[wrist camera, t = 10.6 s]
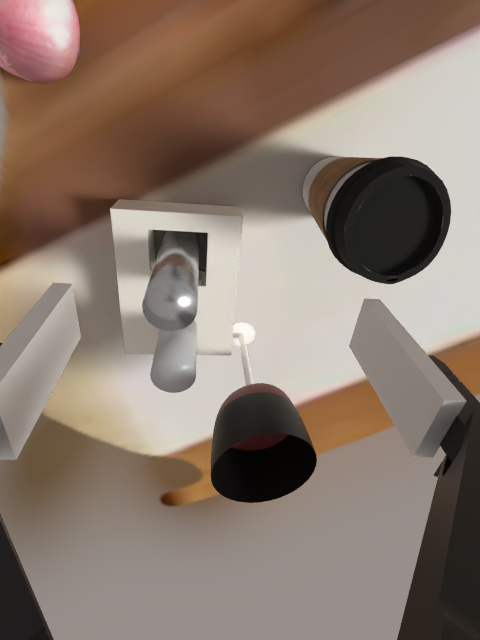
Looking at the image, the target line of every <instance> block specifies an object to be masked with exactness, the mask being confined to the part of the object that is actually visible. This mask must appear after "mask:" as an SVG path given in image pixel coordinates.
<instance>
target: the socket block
mask: <svg viewBox="0 0 480 640" xmlns="http://www.w3.org/2000/svg"><path fill="white" fill-rule="evenodd" d="M110 212H111V222H112V232H113V242H114V252H115V262H116V272H117V282H118V292H119V302H120V312H121V322H122V332H123V342H124V352H125V354H154V359H153V364H152V369H151V380H152V382H153V383H154V385H155V386H156V387H158V388H159V389H161V390H163V391H166V392H172V393H175V392H181V391H184V390H186V389H188V388H189V387H191V385H192V384H193V383H194V381H195V377H196V355H231V350H232V339H233V327H234V316H235V304H236V293H237V281H238V269H239V258H240V246H241V235H242V223H243V215H242V213H241V210H240V207H235V206H220V205H204V204H189V203H174V202H158V201H143V200H127V199H119V200H118V201H117V202H116V203H115V204H114V205H113V206H112V207H111V208H110ZM153 230H167V231H185V232H203V233H207V253H206V271H199V272H198V304H197V314H196V317H195V319H194V321H193V322H192V323H191V324H190V325H189V326H187V327H186V328H184V329H181V330H178V331H164V330H161V329H158V328H156V327H154V326H153V325H152V324H150V323H149V322H148V320H147V319H146V318H145V316H144V314H143V310H142V303H143V299H144V296H145V293H146V290H147V286H148V283H149V280H150V277H151V274H152V271H153V268H154V264H155V256H154V231H153Z"/></svg>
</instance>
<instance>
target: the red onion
mask: <svg viewBox="0 0 480 640" xmlns="http://www.w3.org/2000/svg"><path fill="white" fill-rule="evenodd" d="M80 53H81V52H80V26H79V19H78V15H77V11H76V8H75V5H74V0H0V67H1V68H3V69H4V70H6V71H7V72H9V73H11V74H13V75H15V76H18V77H20V78H22V79H24V80H27V81H29V82H33V83H40V84H45V83H52V82H57V81H59V80H61V79H63V78H64V77H66V76H67V75H68V74H69V73H70V71H71V70H72V68H73V67H74V65H75V63H76V59H77V56H78V55H79V54H80Z"/></svg>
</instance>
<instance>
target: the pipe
mask: <svg viewBox="0 0 480 640" xmlns="http://www.w3.org/2000/svg"><path fill="white" fill-rule="evenodd" d="M198 272H199V241H198V239H197V237H196V235H195V234H194V233H193V232H185V231H168V232H167V233H166V234H165V235H164V237H163V239H162V242H161V246H160V249H159V252H158V255H157V258H156V261H155V264H154V268H153V271H152V274H151V277H150V280H149V283H148V286H147V290H146V293H145V296H144V299H143V303H142V310H143V314H144V316H145V318H146V319H147V320H148V322H149V323H150V324H152V325H153V326H154V327H156V328H158V329H161V330H164V331H178V330H181V329H184V328H186V327H187V326H189V325H190V324H191V323H192V322H193V321H194V319H195V317H196V314H197V304H198Z"/></svg>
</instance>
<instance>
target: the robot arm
mask: <svg viewBox="0 0 480 640" xmlns="http://www.w3.org/2000/svg"><path fill="white" fill-rule="evenodd" d="M80 338H81V333H80V328H79V322H78V316H77V310H76V304H75V298H74V292H73V286H72V284H64V283H53V284H52V285H51V286H50V287H49V289H48V290H47V291H46V292H45V293H44V295H43V296H42V297H41V298H40V299H39V301H38V302H37V303H36V304H35V305H34V307H33V308H32V309H31V310H30V311H29V313H28V314H27V315H26V316H25V317H24V319H23V320H22V321H21V322H20V323H19V325H18V326H17V327H16V328H15V329H14V331H13V332H12V333H11V334H10V335H9V337H8V338H7V339H6V340H5V341H4V343H0V460H16V459H17V457H18V455H19V454H20V452H21V450H22V448H23V446H24V444H25V442H26V440H27V438H28V437H29V435H30V433H31V431H32V429H33V427H34V425H35V423H36V421H37V419H38V418H39V416H40V414H41V412H42V410H43V408H44V406H45V404H46V402H47V401H48V399H49V397H50V395H51V393H52V391H53V389H54V387H55V385H56V384H57V382H58V380H59V378H60V376H61V374H62V372H63V370H64V368H65V366H66V365H67V363H68V361H69V359H70V357H71V355H72V353H73V351H74V349H75V348H76V346H77V344H78V342H79V340H80ZM349 347H350V348H351V350H352V352H353V354H354V355H355V357H356V359H357V361H358V362H359V364H360V366H361V367H362V369H363V371H364V373H365V374H366V376H367V378H368V380H369V381H370V383H371V385H372V387H373V388H374V390H375V392H376V394H377V395H378V397H379V399H380V401H381V402H382V404H383V406H384V408H385V409H386V411H387V413H388V415H389V416H390V418H391V420H392V422H393V423H394V425H395V427H396V429H397V430H398V432H399V434H400V436H401V437H402V439H403V441H404V442H405V444H406V446H407V448H408V449H409V451H410V453H411V455H412V456H413V457H434V455H435V453H436V451H437V450H438V448H439V447H440V446H441V447H442V449H443V450H444V452H445V453H446V456H445V458H444V460H443V461H442V463H441V464H440V466H439V468H438V469H437V471H436V472H435V474H434V476H436V477H437V476H438V475H439V476H438V480H437V484H436V488H435V492H434V496H433V500H432V504H431V508H430V512H429V516H428V520H427V524H426V528H425V532H424V535H423V539H422V544H421V548H420V552H419V555H418V559H417V563H416V567H415V571H414V575H413V579H412V583H411V587H410V591H409V595H408V599H407V603H406V607H405V611H404V615H403V619H402V623H401V627H400V631H399V634H398V638H397V640H480V403H479V401H478V400H477V399H476V398H475V397H474V396H473V395H472V394H471V392H470V391H469V390H468V389H467V388H466V387H465V386H464V385H463V384H462V382H459V379H458V378H457V377H456V376H455V375H453V372H452V371H451V370H450V369H449V368H448V367H447V366H446V365H445V364H444V363H443V362H442V361H440V360H439V359H437V358H436V357H434V356H430V355H427V354H426V353H425V352H424V350H423V349H422V348H421V347H420V346H419V345H418V343H417V342H416V341H415V340H414V339H413V338H412V337H411V335H410V334H409V333H408V332H407V331H406V330H405V328H404V327H403V326H402V325H401V324H400V323H399V321H398V320H397V319H396V318H395V317H394V316H393V314H392V313H391V312H390V311H389V310H388V309H387V307H386V306H385V305H384V304H383V303H382V302H381V300H380V299H364V301H363V304H362V307H361V311H360V314H359V317H358V320H357V323H356V326H355V329H354V332H353V335H352V339H351V342H350V345H349ZM0 640H53V637H52V635H51V632H50V630H49V628H48V625H47V623H46V621H45V618H44V616H43V614H42V611H41V609H40V606H39V604H38V602H37V599H36V597H35V595H34V592H33V590H32V588H31V585H30V583H29V580H28V578H27V576H26V574H25V571H24V569H23V567H22V564H21V562H20V559H19V557H18V555H17V552H16V550H15V548H14V545H13V543H12V541H11V538H10V536H9V533H8V531H7V529H6V527H5V524H4V522H3V519H2V517H1V515H0Z"/></svg>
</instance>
